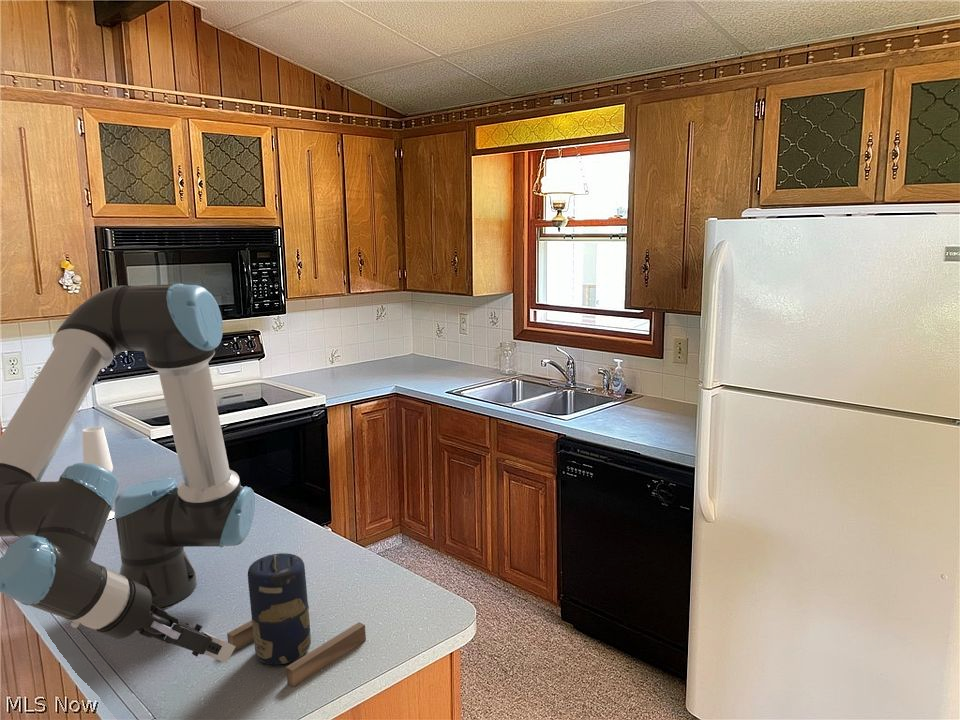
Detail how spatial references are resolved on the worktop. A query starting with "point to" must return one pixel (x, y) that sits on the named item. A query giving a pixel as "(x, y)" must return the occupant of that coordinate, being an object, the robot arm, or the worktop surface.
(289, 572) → the canister
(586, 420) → the worktop surface
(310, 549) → the worktop surface
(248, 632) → the walnut chute
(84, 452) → the champagne flute
